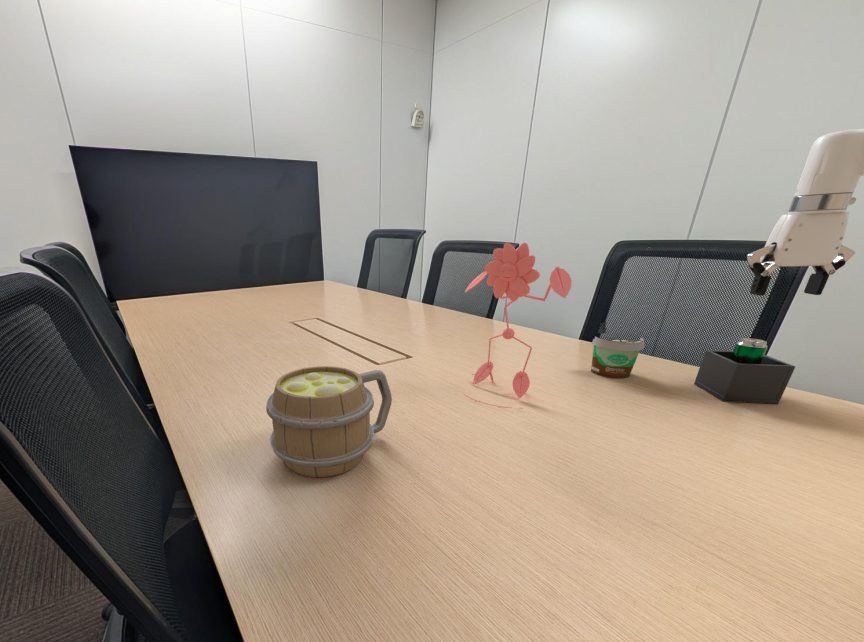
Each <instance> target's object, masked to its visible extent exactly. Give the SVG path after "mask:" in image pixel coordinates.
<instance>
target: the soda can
mask: <svg viewBox="0 0 864 642" xmlns="http://www.w3.org/2000/svg"><path fill="white" fill-rule="evenodd" d="M767 344H768V342H767V340H763V339H758V338H751V337H742V338H740V339H739V341H737V342H736V343H735V346H734V348H733V350H732V351H733V353H732V356H731V358H730V360H732V361H735V362H737V363H739V364H761V362H762V360H763V357H764V355H766V352H767V350H768V347H769V346H768V345H767Z"/></svg>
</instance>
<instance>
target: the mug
mask: <svg viewBox="0 0 864 642" xmlns="http://www.w3.org/2000/svg"><path fill="white" fill-rule="evenodd" d="M374 381H376V383H377V386H378V389H379V392H380V395H381V403H380V406H379V410H378V414H377V417H376V421H375V422H374V423H373V424H370V423H371V416H370V415H371V414H370V413H371V411H372V410H373V408H374V405H375V401H374V396H373V393H372V392H371V390H370V389H368V388H367V387H366V385H365V383H366V384H367V383H370V382H374ZM273 389H274V390H273V393H272V394H271V395H269V396H268V398H267V401H266V408H265V410H266V414H267V415H268V417H269V418H270V419H271V420H272V421H271V423H272V430H273V431H272V432H271V435H270V438H269V440H270V441H269V442H270V446H271V448H272V451H273V453H274V454H275V455H276V456H277V457H278V458H279V459H281V460H282V461H283V463H284V464H285V465H286V467H287V468H288V469H289V470H291V471H292V472H294V473H296V474H298V475H301V476H305V477H309V478H310V477H311V478H329V477H334V476H335V477H336V476H338V475H343V474H344V473H346V472H349V471H350V470H352V469H354V468H355V467H357V465H359V463H360V462H361V461H362V460H363V457H364V454H366V453H367V452H368V450H369V449H370V448H371V447H372V445H373V442H374V439H375V434H377V433H380V432H381V431H382V430H383V429H384V428H385V426H386V423H387V420H388V417H389V414H390V409H391V406H392V403H393V398H392V397H393V396H392V393H391V389H390V385H389V382H388V380H387V377H386V373H385V372H383V371H382V370H380V369H374V370H371V371H366V372H362V373H358V372H356V371H354V370H352V369H350V368H346V367H339V366H331V365H330V366H329V365H326V366H325V365H324V366H323V365H320V366H318V365H317V366H310V367H309V366H308V367H304V368H299V369H295V370H292V371H289V372H287V373H284V374H283V375H281V376H280V377H278V379H277V380H276V383H275V386H274V388H273Z"/></svg>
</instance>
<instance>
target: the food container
mask: <svg viewBox="0 0 864 642" xmlns="http://www.w3.org/2000/svg"><path fill="white" fill-rule="evenodd" d="M639 338H640V339H639V340H637V339H636V340H628V339H621V338H613V339H603V338H600V337H598V336H594V338H593V339H592V342H591V345H593V348H592V360H591V367H590V372H591V373H593V374H596V375H597V376H601V377H605V378H611V379H627V378H629V377H630V376H631V373H632V371H633V368H634V366H635V363H636V361H637V358H638V356H639V354H640V351H642V350H644V349H645V340H644V338H643V337H639Z"/></svg>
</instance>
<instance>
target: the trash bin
mask: <svg viewBox="0 0 864 642" xmlns="http://www.w3.org/2000/svg"><path fill="white" fill-rule="evenodd" d="M732 353H733V350H714V349H713V350H710V349H708V350H707V349H705V351H704V354H703V357H702V359H701V363H700V365H699V368H698V371H697V373H696V377H695V380H694V385H695V386H697V387H698V388H700V389H701V390H703V391H704V392H707V393H708V394H710V395H711V396H713V397H715V398H717V399H718V400H720V401H722V402H725V403H728V402H729V403H748V404H749V403H750V404H766V405H779V403H780V401H781V400H782V397H783V395H784V393H785V391H786V388H787V386H788V384H789V382H790V380H791V378H792V375H793V373H794V372H795V369H796V366H795V365H792V364H791V363H788V362H784V361H782V360H780V359H777V358H774V357H772V356H770V355H766V354H765V355H764V357H763V360H762V362H761V364H739V363H737V362H735V361H732V360H730V358H731V356H732Z"/></svg>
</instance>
